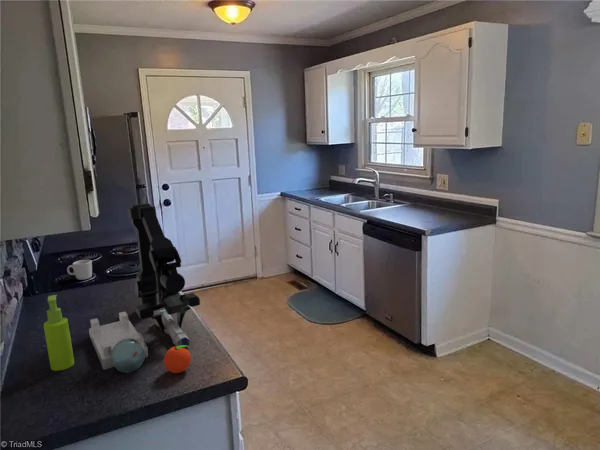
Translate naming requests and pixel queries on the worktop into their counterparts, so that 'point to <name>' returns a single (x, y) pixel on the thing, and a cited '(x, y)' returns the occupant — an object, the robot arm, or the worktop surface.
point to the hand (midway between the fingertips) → (171, 330)
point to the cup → (81, 269)
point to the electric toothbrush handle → (174, 329)
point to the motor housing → (118, 344)
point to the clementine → (177, 359)
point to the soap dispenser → (58, 338)
